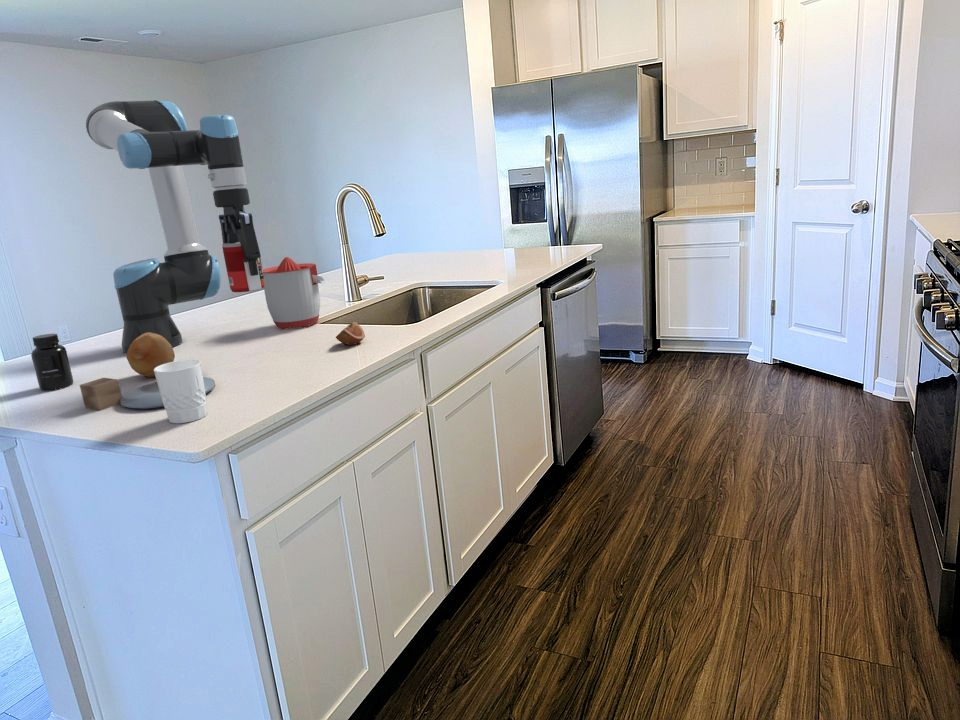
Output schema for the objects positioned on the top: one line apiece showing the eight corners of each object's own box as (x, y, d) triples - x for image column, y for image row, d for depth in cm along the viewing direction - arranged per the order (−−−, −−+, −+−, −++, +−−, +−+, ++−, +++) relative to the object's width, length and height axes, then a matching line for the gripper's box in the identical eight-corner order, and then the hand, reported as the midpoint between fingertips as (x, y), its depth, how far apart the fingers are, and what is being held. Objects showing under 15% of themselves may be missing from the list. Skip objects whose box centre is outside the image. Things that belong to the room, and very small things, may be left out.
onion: (132, 374, 162) (123, 333, 159) (178, 366, 166) (169, 326, 163) (130, 384, 153) (120, 341, 151) (178, 376, 157) (169, 333, 154)
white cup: (174, 412, 131) (162, 362, 128) (216, 407, 131) (206, 357, 128) (159, 427, 123) (146, 373, 120) (203, 422, 124) (192, 368, 121)
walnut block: (85, 408, 139) (79, 385, 138) (108, 400, 143) (103, 377, 142) (100, 411, 136) (94, 387, 135) (123, 402, 141) (117, 379, 139)
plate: (111, 399, 143) (110, 393, 143) (199, 377, 154) (197, 371, 154) (135, 417, 130) (133, 411, 129) (228, 392, 141) (227, 386, 140)
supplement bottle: (49, 392, 153) (35, 340, 150) (34, 390, 157) (20, 338, 153) (80, 383, 158) (67, 332, 155) (64, 381, 162) (51, 331, 159)
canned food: (255, 291, 157) (246, 242, 154) (223, 293, 158) (214, 245, 156) (271, 285, 164) (263, 239, 161) (241, 287, 166) (232, 241, 163)
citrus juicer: (323, 328, 193) (312, 257, 188) (262, 333, 194) (250, 262, 189) (335, 317, 208) (325, 250, 203) (279, 321, 209) (267, 255, 204)
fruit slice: (357, 348, 167) (354, 328, 166) (331, 349, 169) (328, 329, 168) (369, 339, 175) (366, 320, 174) (344, 340, 177) (342, 321, 175)
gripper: (197, 191, 161) (215, 287, 167) (231, 188, 145) (250, 294, 151) (228, 188, 165) (245, 282, 171) (264, 185, 150) (282, 288, 156)
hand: (247, 288), depth 161 cm, fingers closed on canned food, 8 cm apart
